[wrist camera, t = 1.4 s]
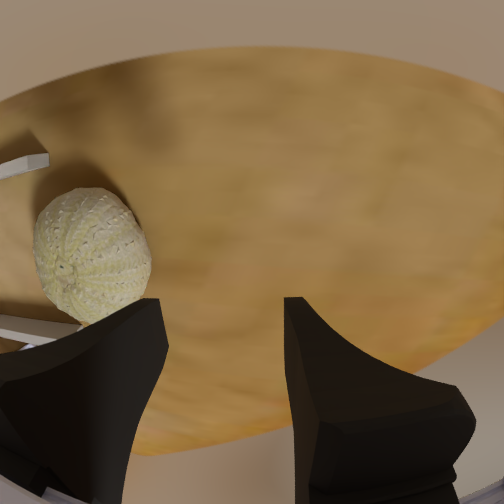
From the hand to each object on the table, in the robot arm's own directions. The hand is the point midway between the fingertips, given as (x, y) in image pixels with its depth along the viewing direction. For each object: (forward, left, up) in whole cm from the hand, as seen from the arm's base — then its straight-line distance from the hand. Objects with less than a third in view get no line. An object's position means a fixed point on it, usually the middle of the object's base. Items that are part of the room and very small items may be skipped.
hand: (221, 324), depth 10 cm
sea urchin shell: (-9, +5, -10) cm, 14 cm away
